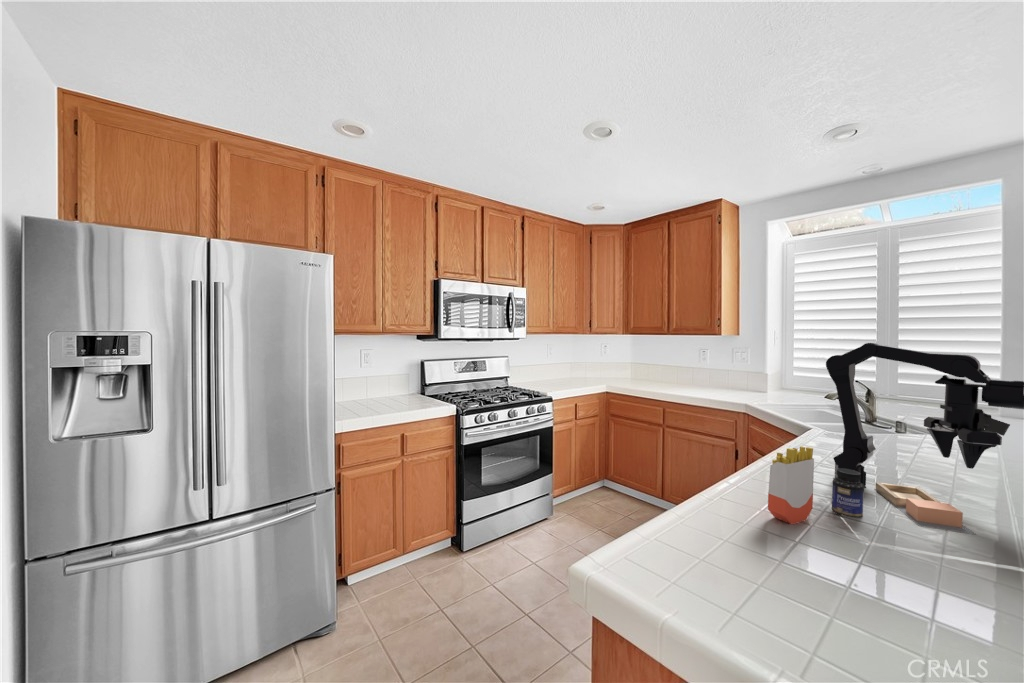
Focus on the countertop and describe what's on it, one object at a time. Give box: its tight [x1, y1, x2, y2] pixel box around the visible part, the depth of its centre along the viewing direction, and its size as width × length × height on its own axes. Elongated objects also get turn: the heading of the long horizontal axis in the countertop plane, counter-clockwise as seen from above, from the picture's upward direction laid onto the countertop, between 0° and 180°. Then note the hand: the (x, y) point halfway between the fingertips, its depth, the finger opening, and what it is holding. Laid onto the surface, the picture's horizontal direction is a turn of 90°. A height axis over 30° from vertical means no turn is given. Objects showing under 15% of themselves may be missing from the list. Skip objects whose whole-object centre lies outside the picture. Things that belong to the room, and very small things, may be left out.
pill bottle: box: [831, 468, 865, 519], centre depth 102 cm, size 6×6×11 cm
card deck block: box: [906, 498, 964, 527], centre depth 99 cm, size 8×6×4 cm
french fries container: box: [767, 446, 815, 525], centre depth 99 cm, size 5×11×18 cm, turn 114°
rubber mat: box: [874, 488, 978, 536], centre depth 105 cm, size 10×25×1 cm, turn 157°
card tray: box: [875, 481, 943, 507], centre depth 110 cm, size 10×12×2 cm
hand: (957, 462), depth 105 cm, fingers open, 9 cm apart
